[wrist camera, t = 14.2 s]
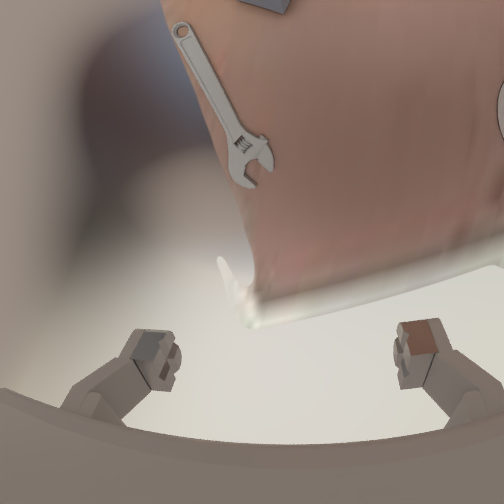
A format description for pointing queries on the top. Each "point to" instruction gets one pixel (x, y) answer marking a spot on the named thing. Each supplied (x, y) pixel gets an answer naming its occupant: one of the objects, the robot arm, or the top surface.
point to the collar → (270, 4)
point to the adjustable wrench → (224, 111)
